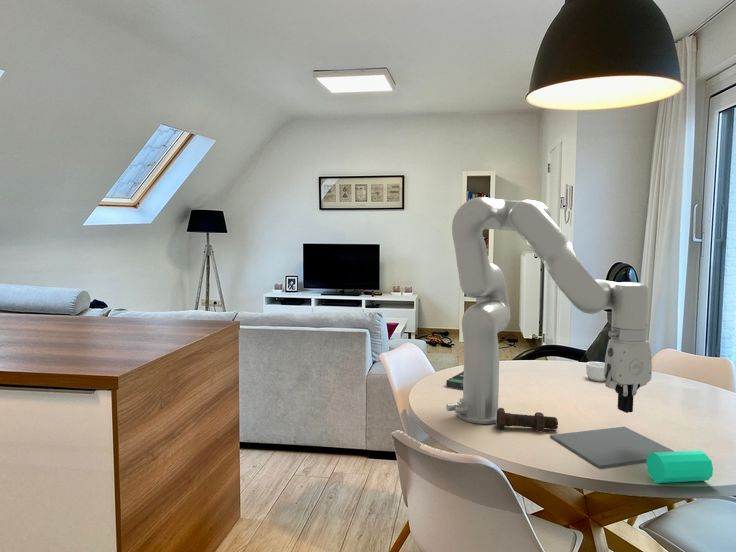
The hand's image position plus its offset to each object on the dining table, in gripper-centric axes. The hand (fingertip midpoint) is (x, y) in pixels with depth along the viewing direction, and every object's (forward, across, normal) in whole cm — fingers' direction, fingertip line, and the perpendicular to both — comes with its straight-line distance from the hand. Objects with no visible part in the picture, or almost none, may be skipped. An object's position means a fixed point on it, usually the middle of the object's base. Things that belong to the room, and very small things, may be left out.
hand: (625, 410), depth 128 cm
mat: (+9, -3, 0) cm, 9 cm away
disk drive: (+9, -13, +56) cm, 59 cm away
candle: (+6, -7, -17) cm, 19 cm away
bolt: (+9, -17, +15) cm, 24 cm away
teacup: (+9, +33, +49) cm, 60 cm away
